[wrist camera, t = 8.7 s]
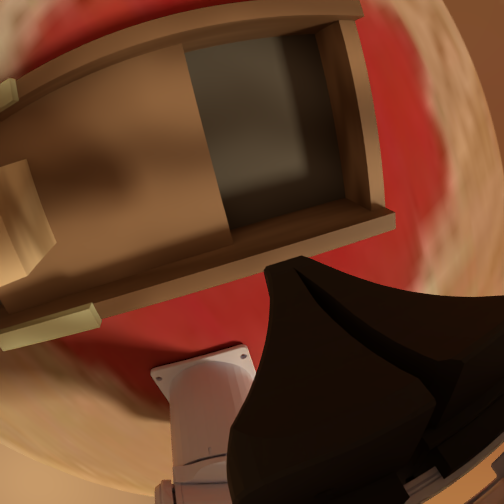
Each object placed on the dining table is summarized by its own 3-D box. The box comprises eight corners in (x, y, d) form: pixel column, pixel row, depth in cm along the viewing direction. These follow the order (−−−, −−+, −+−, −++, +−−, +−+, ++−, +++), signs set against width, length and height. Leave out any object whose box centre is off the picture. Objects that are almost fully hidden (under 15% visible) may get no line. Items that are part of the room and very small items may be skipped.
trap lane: (357, 208, 20) (401, 233, 16) (-32, 328, 17) (-56, 364, 12) (322, 19, 14) (364, -5, 10) (-90, 193, 11) (-127, 212, 6)
